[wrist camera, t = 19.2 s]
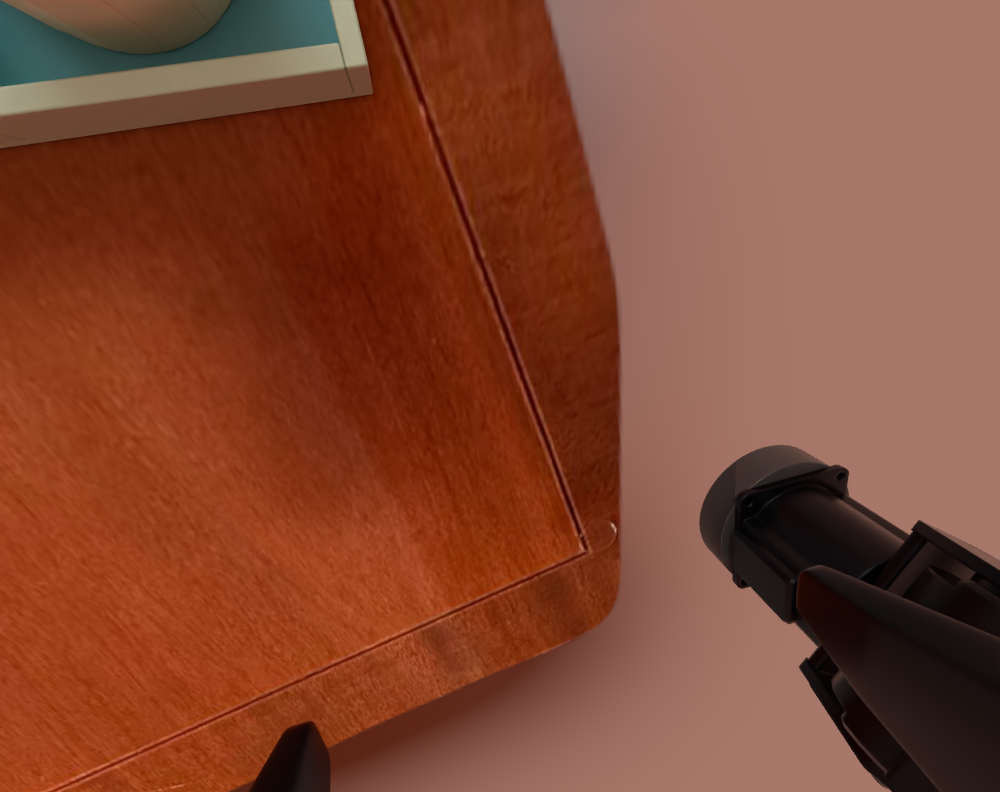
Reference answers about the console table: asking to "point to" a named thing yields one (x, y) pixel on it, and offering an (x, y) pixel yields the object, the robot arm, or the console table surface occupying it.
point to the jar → (128, 21)
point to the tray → (177, 71)
